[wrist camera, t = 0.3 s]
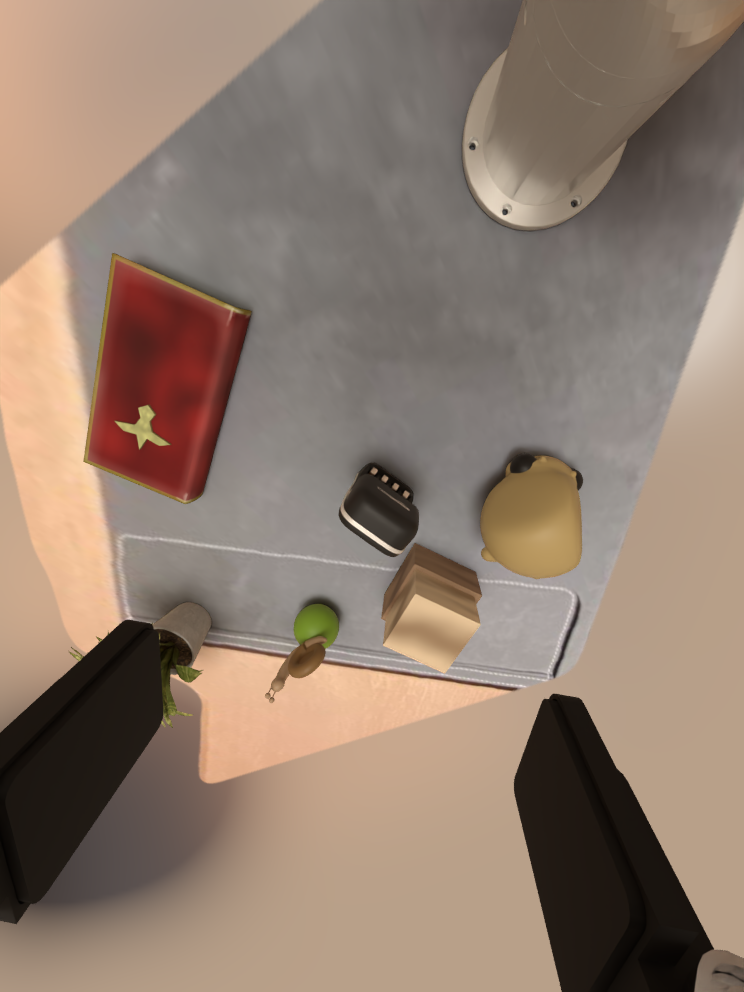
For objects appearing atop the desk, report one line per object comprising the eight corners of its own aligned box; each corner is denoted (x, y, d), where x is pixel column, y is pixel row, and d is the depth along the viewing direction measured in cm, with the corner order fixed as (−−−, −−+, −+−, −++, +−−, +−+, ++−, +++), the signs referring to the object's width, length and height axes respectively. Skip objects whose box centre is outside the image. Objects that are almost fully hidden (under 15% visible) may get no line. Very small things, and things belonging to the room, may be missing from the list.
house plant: (235, 563, 50) (155, 659, 34) (263, 652, 54) (204, 772, 39) (133, 574, 52) (15, 668, 37) (168, 658, 56) (77, 774, 41)
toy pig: (552, 502, 46) (624, 458, 37) (541, 601, 41) (623, 579, 32) (475, 471, 46) (529, 418, 36) (454, 567, 40) (511, 535, 31)
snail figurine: (286, 609, 51) (250, 682, 40) (326, 588, 49) (299, 658, 38) (311, 639, 53) (282, 718, 41) (350, 620, 51) (332, 697, 40)
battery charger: (423, 489, 44) (426, 535, 33) (402, 514, 45) (398, 566, 34) (372, 451, 43) (357, 486, 32) (352, 478, 44) (331, 519, 33)
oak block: (415, 569, 42) (415, 593, 38) (474, 596, 42) (480, 624, 38) (386, 617, 44) (383, 645, 40) (441, 643, 45) (444, 673, 41)
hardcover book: (255, 312, 40) (237, 308, 36) (205, 493, 47) (186, 506, 43) (140, 261, 39) (110, 252, 35) (109, 452, 47) (81, 462, 43)
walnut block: (414, 541, 46) (414, 563, 42) (475, 571, 47) (482, 595, 42) (384, 593, 49) (381, 618, 44) (442, 619, 50) (444, 648, 45)
